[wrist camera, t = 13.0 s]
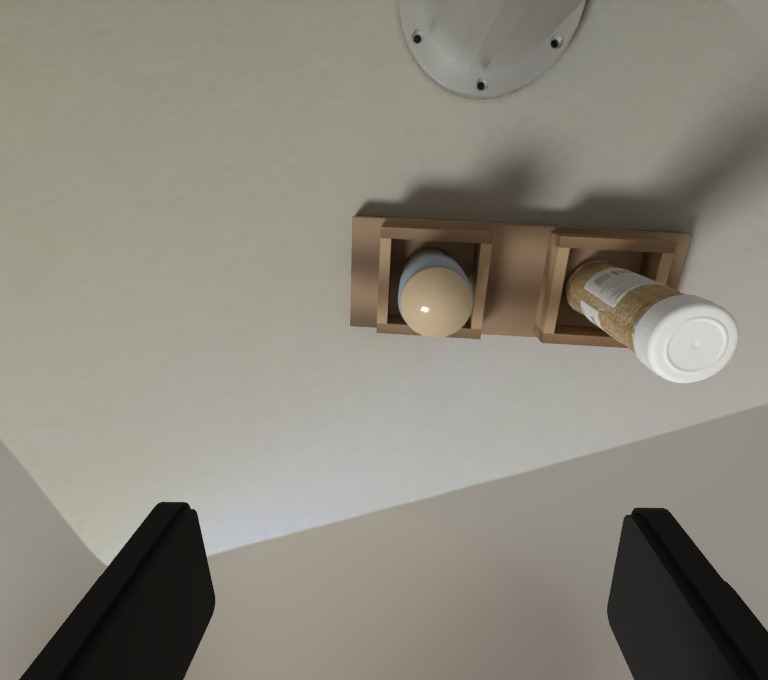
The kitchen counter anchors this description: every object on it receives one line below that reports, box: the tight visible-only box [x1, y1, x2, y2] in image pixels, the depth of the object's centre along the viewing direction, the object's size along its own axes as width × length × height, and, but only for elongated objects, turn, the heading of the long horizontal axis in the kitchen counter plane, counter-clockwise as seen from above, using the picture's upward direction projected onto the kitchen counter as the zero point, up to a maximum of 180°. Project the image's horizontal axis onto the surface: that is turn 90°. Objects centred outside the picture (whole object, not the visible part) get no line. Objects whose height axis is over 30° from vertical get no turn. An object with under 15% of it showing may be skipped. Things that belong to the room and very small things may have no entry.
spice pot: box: [398, 247, 474, 338], centre depth 32 cm, size 5×5×8 cm
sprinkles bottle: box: [565, 260, 739, 383], centre depth 29 cm, size 5×5×14 cm
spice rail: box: [350, 216, 692, 348], centre depth 35 cm, size 9×26×4 cm, turn 88°
